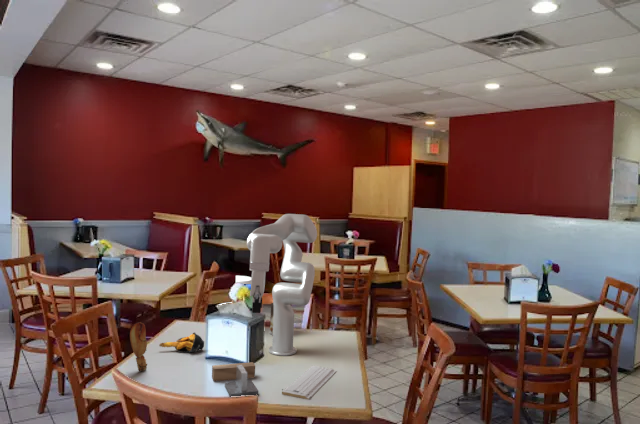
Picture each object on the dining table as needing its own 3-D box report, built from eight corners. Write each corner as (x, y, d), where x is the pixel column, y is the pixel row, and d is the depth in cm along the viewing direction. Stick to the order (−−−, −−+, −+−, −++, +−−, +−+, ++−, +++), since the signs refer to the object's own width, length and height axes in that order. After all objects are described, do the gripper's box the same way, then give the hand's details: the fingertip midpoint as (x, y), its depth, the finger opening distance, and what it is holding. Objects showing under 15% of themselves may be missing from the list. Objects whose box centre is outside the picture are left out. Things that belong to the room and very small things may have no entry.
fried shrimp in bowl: (207, 344, 223) (167, 334, 216) (197, 363, 226) (158, 354, 219) (206, 331, 231) (168, 321, 224) (197, 349, 234) (159, 340, 227)
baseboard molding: (339, 373, 208) (312, 369, 212) (339, 366, 208) (312, 362, 212) (312, 401, 179) (281, 395, 183) (312, 393, 179) (281, 387, 183)
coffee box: (268, 334, 258) (270, 303, 257) (275, 331, 264) (276, 301, 263) (284, 337, 254) (286, 305, 254) (290, 334, 260) (292, 303, 260)
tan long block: (211, 378, 196) (212, 365, 196) (252, 374, 202) (252, 362, 202) (213, 382, 192) (213, 369, 192) (254, 378, 198) (255, 365, 198)
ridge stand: (224, 386, 188) (225, 365, 187) (251, 383, 191) (251, 362, 191) (230, 398, 178) (231, 375, 177) (258, 395, 181) (259, 373, 181)
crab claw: (127, 372, 197) (129, 322, 197) (134, 368, 202) (135, 318, 202) (144, 374, 196) (145, 323, 196) (150, 370, 201) (152, 320, 201)
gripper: (251, 264, 207) (249, 305, 207) (248, 268, 190) (245, 314, 190) (269, 264, 208) (267, 306, 208) (268, 269, 191) (265, 315, 191)
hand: (257, 310), depth 199 cm, fingers open, 9 cm apart
